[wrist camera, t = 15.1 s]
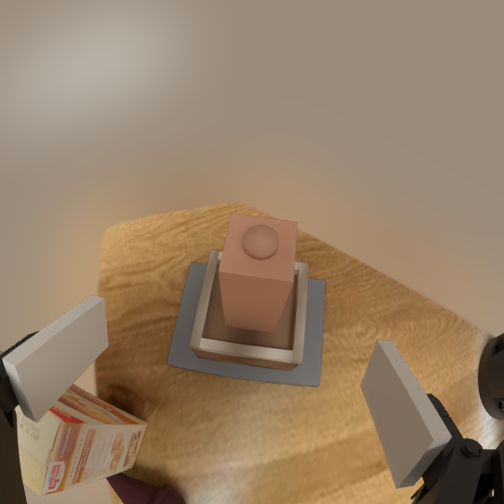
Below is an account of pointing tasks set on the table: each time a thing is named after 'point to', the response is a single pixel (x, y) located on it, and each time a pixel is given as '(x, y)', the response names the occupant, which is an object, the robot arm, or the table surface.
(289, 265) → the block
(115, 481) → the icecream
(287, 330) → the brown square box
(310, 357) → the base board
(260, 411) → the table surface
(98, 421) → the coffeecake box
